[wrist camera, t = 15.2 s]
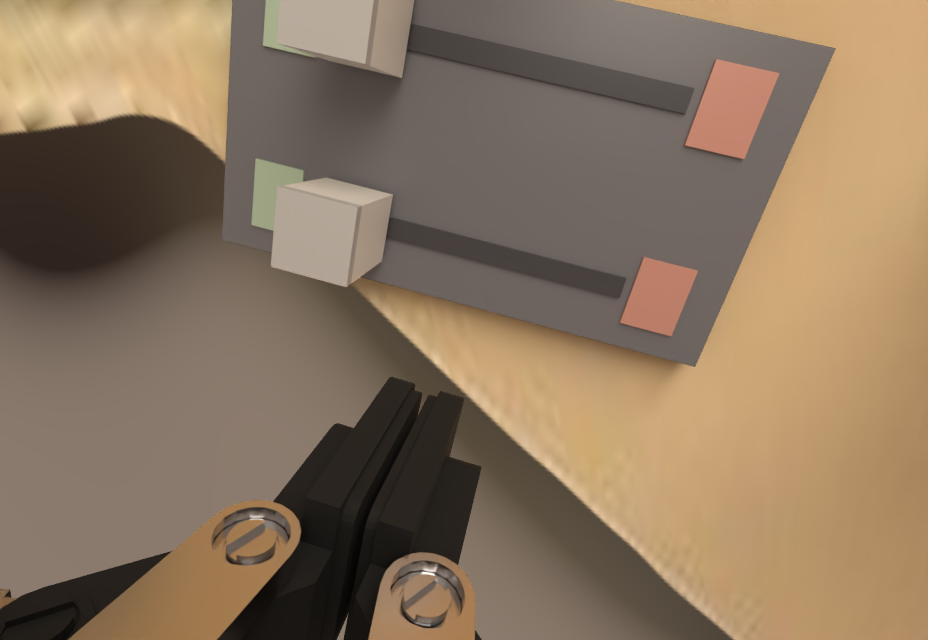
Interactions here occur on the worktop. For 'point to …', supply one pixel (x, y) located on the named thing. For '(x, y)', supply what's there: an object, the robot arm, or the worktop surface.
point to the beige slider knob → (329, 229)
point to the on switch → (349, 31)
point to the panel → (536, 155)
